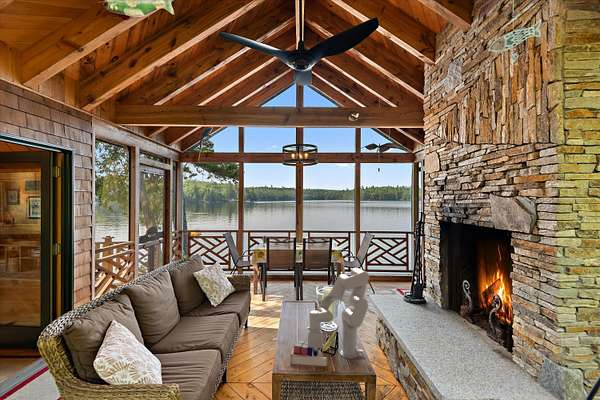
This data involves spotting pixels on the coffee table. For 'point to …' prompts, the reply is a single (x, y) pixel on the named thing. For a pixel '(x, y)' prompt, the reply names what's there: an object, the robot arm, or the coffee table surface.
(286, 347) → the coffee table surface
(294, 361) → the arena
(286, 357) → the coffee table surface
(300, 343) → the puzzle cube
